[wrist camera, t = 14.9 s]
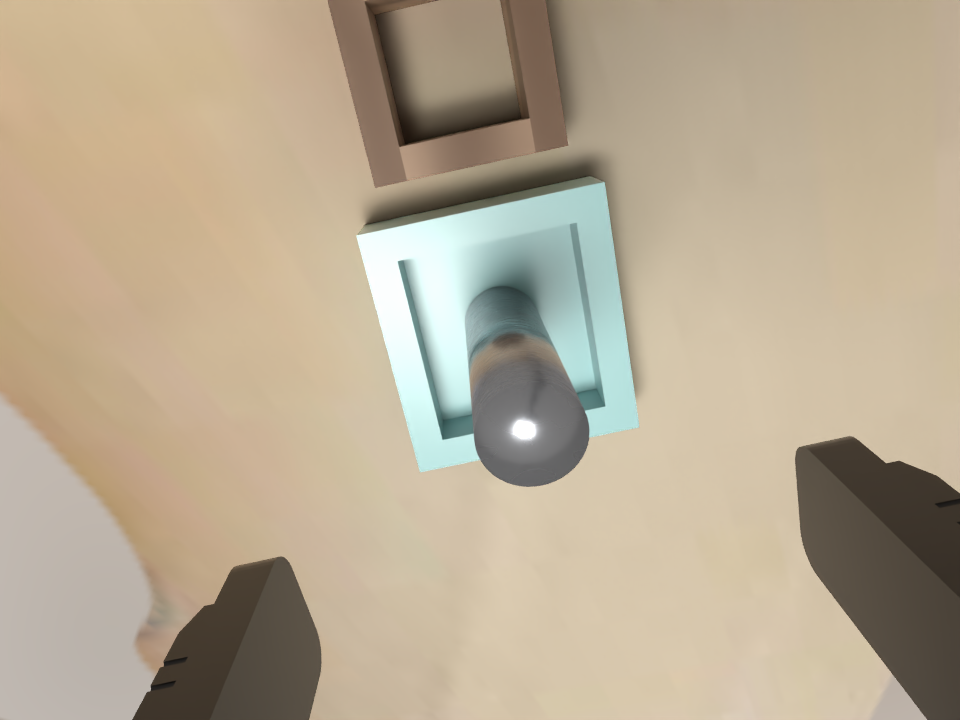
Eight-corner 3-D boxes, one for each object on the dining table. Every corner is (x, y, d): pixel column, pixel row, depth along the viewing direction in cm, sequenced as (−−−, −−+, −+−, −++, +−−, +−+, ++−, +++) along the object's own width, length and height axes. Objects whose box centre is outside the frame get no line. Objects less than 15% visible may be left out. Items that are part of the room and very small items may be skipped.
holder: (523, -56, 32) (532, -80, 28) (555, 142, 35) (568, 145, 31) (335, -14, 32) (319, -31, 28) (383, 180, 35) (375, 187, 31)
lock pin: (531, 278, 36) (580, 370, 23) (544, 349, 37) (597, 473, 24) (457, 294, 36) (463, 394, 23) (473, 364, 37) (486, 496, 24)
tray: (590, 176, 35) (604, 181, 32) (623, 401, 40) (639, 427, 36) (365, 225, 36) (356, 235, 32) (422, 443, 40) (420, 472, 37)
